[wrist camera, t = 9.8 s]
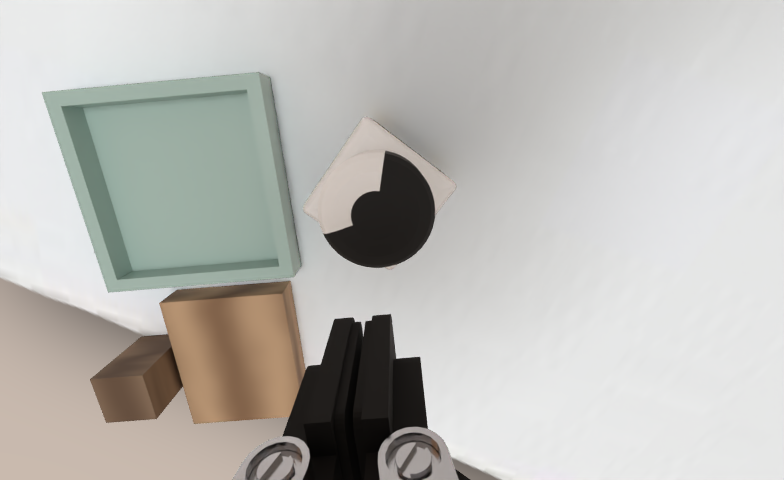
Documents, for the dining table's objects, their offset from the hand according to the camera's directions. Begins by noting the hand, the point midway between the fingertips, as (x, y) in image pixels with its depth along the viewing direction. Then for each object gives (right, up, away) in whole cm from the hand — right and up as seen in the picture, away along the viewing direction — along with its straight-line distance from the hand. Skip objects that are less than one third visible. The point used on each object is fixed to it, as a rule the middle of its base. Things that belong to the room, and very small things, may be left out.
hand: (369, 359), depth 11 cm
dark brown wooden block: (-20, -7, +23) cm, 31 cm away
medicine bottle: (0, +8, +19) cm, 21 cm away
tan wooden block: (-13, -6, +23) cm, 27 cm away
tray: (-15, +8, +19) cm, 25 cm away
